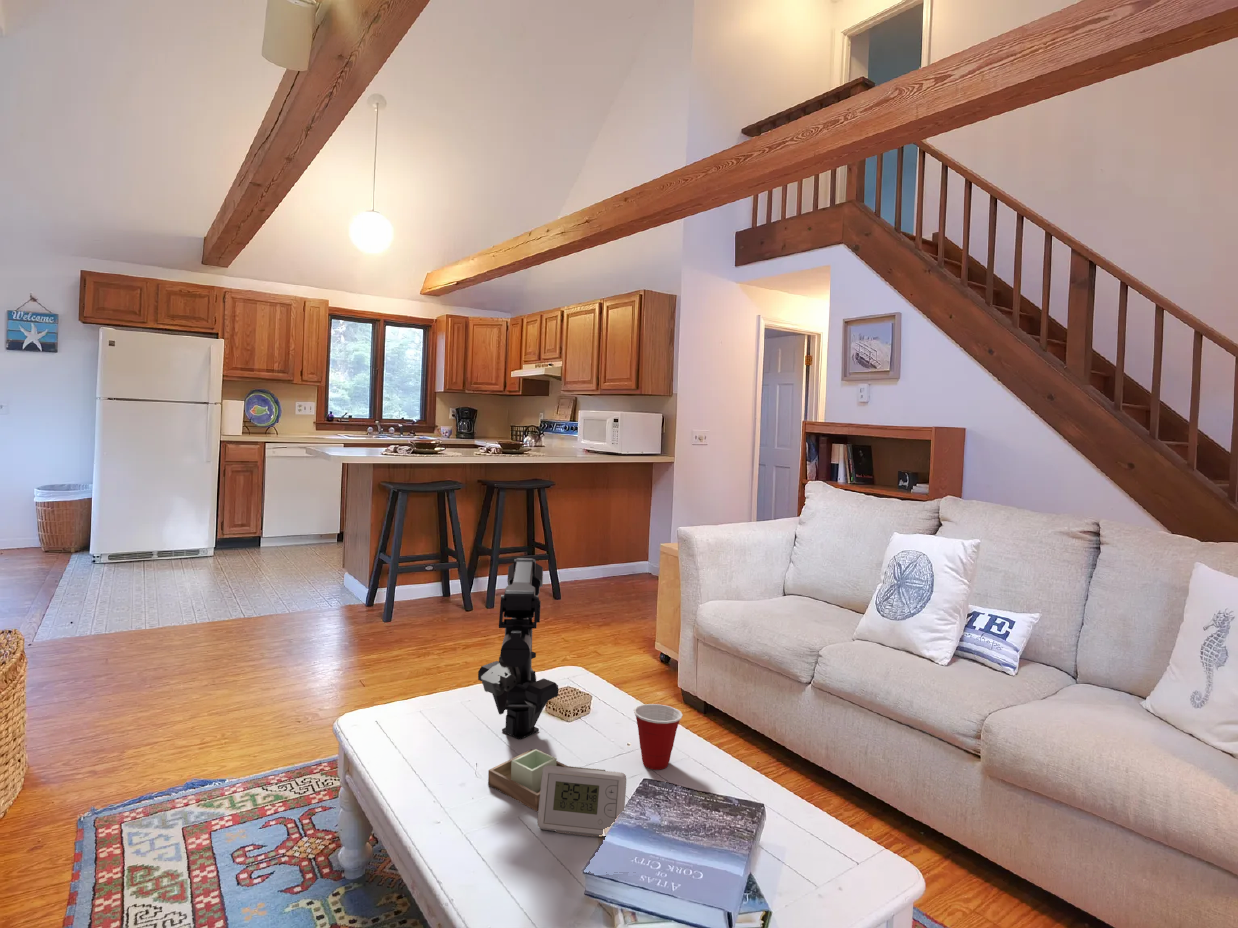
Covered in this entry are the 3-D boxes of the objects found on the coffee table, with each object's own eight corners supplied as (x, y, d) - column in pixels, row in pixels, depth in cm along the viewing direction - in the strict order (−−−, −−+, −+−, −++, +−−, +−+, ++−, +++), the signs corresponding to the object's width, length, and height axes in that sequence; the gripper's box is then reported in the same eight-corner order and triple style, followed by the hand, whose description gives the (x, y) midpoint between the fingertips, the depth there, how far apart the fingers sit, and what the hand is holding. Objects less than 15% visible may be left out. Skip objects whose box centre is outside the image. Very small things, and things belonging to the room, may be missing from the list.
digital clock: (532, 830, 128) (533, 774, 128) (552, 805, 137) (553, 752, 136) (615, 851, 123) (617, 793, 122) (630, 823, 132) (633, 769, 131)
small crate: (535, 771, 148) (536, 748, 148) (555, 781, 144) (556, 758, 144) (510, 784, 143) (511, 760, 142) (531, 795, 139) (532, 770, 139)
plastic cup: (687, 759, 157) (690, 707, 156) (668, 780, 148) (671, 725, 147) (644, 746, 162) (646, 696, 161) (623, 766, 153) (625, 713, 152)
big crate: (531, 763, 153) (531, 749, 153) (579, 786, 144) (579, 771, 144) (488, 784, 143) (488, 769, 143) (536, 811, 134) (537, 795, 134)
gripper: (458, 647, 145) (457, 719, 147) (522, 671, 134) (520, 749, 135) (498, 634, 154) (496, 702, 156) (561, 655, 143) (558, 729, 144)
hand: (516, 720), depth 147 cm, fingers open, 9 cm apart
